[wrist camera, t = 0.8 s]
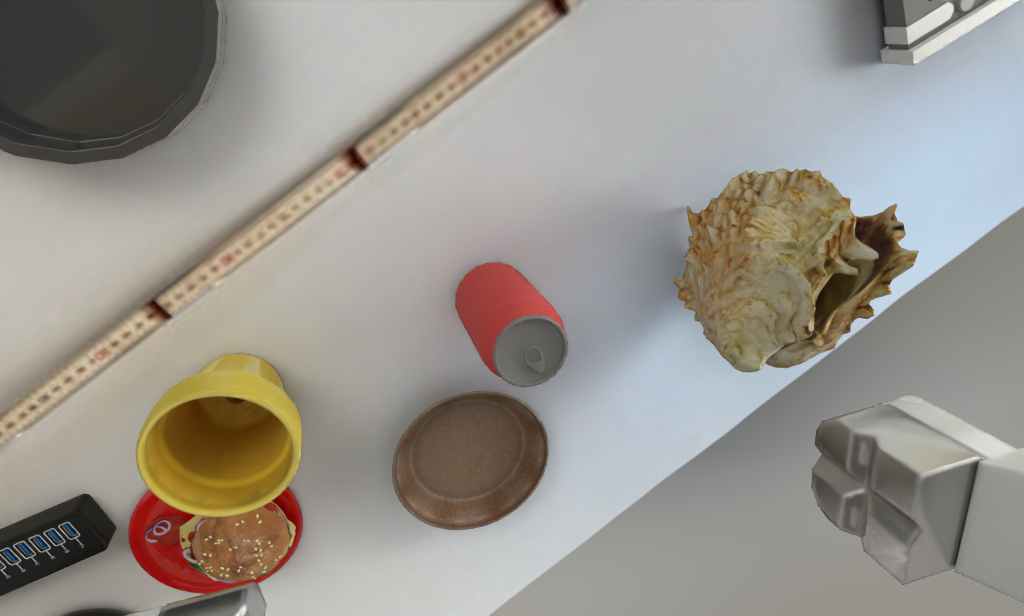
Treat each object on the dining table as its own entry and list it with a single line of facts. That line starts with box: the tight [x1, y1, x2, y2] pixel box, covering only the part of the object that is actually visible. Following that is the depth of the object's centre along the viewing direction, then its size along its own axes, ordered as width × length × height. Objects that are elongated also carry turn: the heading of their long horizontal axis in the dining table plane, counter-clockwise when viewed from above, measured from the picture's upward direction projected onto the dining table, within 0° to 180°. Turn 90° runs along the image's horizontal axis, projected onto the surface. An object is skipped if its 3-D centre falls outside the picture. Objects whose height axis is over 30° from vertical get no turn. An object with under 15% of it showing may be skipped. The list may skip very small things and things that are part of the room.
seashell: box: [673, 169, 918, 372], centre depth 51 cm, size 18×18×15 cm
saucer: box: [392, 391, 549, 530], centre depth 57 cm, size 15×15×3 cm
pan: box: [0, 0, 227, 164], centre depth 37 cm, size 19×19×4 cm
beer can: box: [455, 262, 568, 387], centre depth 48 cm, size 7×7×12 cm
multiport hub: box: [0, 494, 116, 596], centre depth 49 cm, size 4×14×2 cm, turn 108°
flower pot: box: [136, 354, 302, 517], centre depth 46 cm, size 10×10×10 cm
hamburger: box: [129, 488, 302, 594], centre depth 52 cm, size 14×14×6 cm
